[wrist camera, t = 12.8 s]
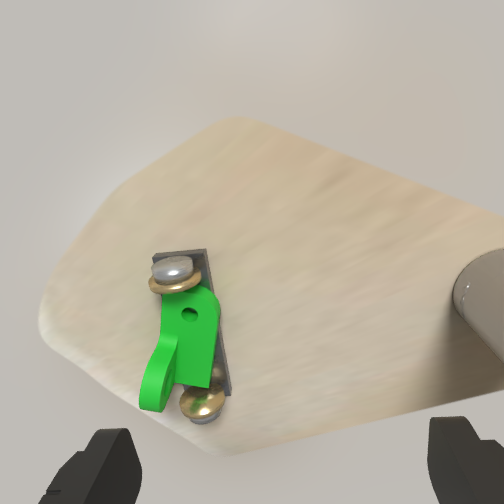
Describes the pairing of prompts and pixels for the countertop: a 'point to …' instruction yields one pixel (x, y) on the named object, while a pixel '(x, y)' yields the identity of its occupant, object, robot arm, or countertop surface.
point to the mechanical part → (182, 346)
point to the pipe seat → (180, 279)
